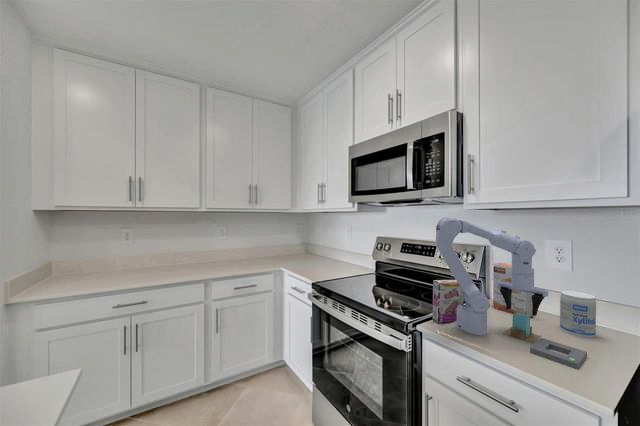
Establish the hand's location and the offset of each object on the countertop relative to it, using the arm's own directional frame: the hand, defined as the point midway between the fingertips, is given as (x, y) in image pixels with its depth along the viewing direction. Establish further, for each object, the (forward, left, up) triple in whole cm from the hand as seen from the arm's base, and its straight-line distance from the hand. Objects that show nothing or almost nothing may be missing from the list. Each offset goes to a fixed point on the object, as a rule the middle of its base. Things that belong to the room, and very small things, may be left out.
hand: (521, 311), depth 95 cm
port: (+11, -7, -9) cm, 16 cm away
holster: (0, 0, -9) cm, 9 cm away
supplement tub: (+11, +20, -10) cm, 25 cm away
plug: (0, 0, -8) cm, 8 cm away
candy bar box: (-23, -7, -10) cm, 26 cm away
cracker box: (-11, +25, -10) cm, 29 cm away
